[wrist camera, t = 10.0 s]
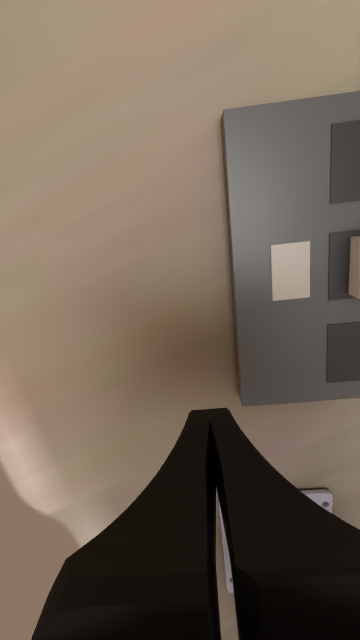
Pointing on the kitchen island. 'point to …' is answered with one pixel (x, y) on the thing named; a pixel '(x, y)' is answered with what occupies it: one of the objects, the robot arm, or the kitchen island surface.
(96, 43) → the kitchen island surface
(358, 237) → the tab
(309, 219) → the switch bank
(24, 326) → the kitchen island surface
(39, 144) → the kitchen island surface
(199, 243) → the kitchen island surface
